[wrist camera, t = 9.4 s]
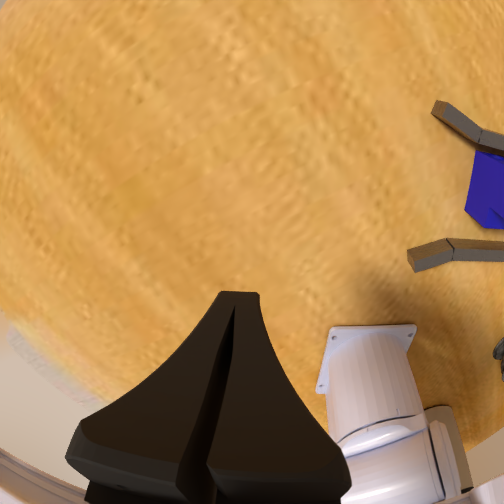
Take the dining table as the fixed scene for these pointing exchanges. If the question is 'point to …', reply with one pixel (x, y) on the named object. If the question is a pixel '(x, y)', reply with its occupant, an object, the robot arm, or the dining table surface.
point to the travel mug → (453, 442)
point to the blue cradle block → (487, 190)
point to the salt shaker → (500, 355)
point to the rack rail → (451, 247)
